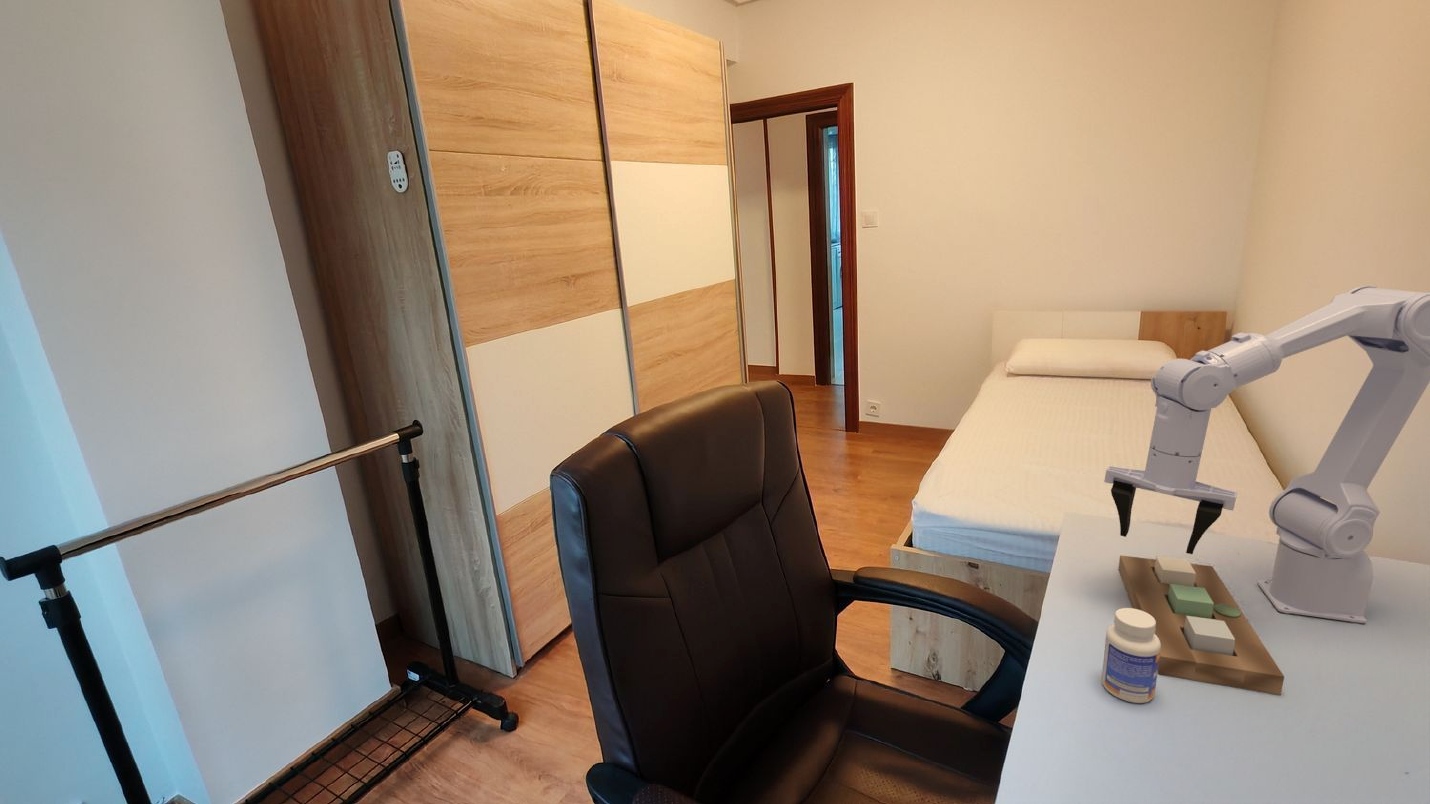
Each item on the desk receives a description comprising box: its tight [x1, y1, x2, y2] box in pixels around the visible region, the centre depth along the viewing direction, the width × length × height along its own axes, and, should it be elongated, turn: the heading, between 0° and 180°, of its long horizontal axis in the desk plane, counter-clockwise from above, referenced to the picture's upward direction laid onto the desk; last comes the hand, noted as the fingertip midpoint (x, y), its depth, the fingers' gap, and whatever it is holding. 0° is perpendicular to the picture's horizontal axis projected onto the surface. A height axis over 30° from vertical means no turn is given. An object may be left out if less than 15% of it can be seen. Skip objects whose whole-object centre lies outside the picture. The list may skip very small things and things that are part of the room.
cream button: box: [1154, 556, 1196, 587], centre depth 95 cm, size 4×4×3 cm
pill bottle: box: [1101, 607, 1161, 704], centre depth 76 cm, size 5×5×10 cm
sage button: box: [1167, 584, 1214, 619], centre depth 88 cm, size 4×4×3 cm
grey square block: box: [1183, 616, 1235, 656], centre depth 81 cm, size 4×4×3 cm
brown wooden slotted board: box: [1118, 555, 1285, 696], centre depth 88 cm, size 12×26×3 cm, turn 158°
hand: (1156, 542), depth 89 cm, fingers open, 7 cm apart
